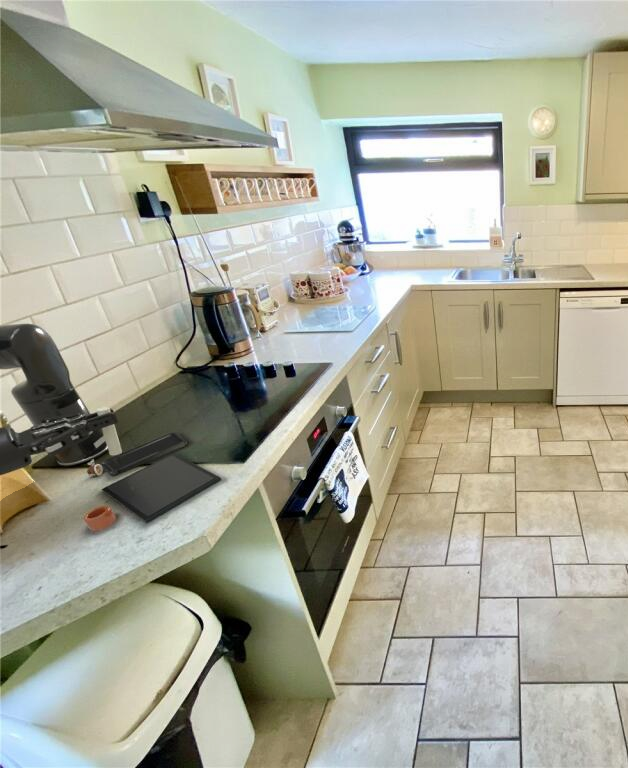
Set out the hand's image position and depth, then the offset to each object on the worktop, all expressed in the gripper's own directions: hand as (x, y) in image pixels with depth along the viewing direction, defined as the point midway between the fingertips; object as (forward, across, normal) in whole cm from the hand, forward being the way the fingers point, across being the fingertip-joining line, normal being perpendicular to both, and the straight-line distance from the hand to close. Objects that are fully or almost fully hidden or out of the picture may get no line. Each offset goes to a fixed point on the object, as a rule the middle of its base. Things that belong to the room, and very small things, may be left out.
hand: (114, 415), depth 80 cm
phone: (+1, +19, +19) cm, 27 cm away
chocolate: (-8, +18, +19) cm, 28 cm away
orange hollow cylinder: (-9, -3, +19) cm, 21 cm away
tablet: (+1, +1, +19) cm, 19 cm away
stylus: (-3, 0, +10) cm, 10 cm away
